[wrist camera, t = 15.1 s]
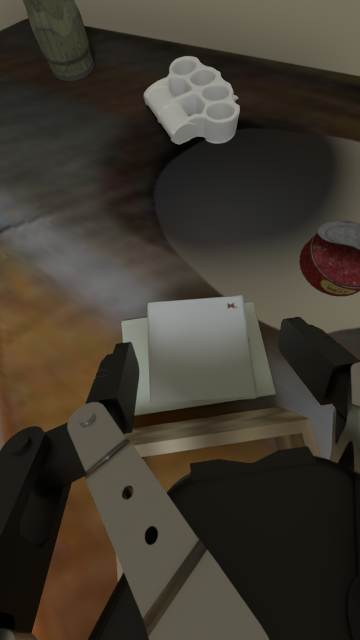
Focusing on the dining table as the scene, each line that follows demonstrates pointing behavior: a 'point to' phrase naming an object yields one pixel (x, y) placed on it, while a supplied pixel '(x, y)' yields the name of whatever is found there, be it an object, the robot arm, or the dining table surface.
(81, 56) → the thermos
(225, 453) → the dining table surface
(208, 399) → the supplement box
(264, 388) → the mat
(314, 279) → the canned food
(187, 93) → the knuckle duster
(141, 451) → the box
